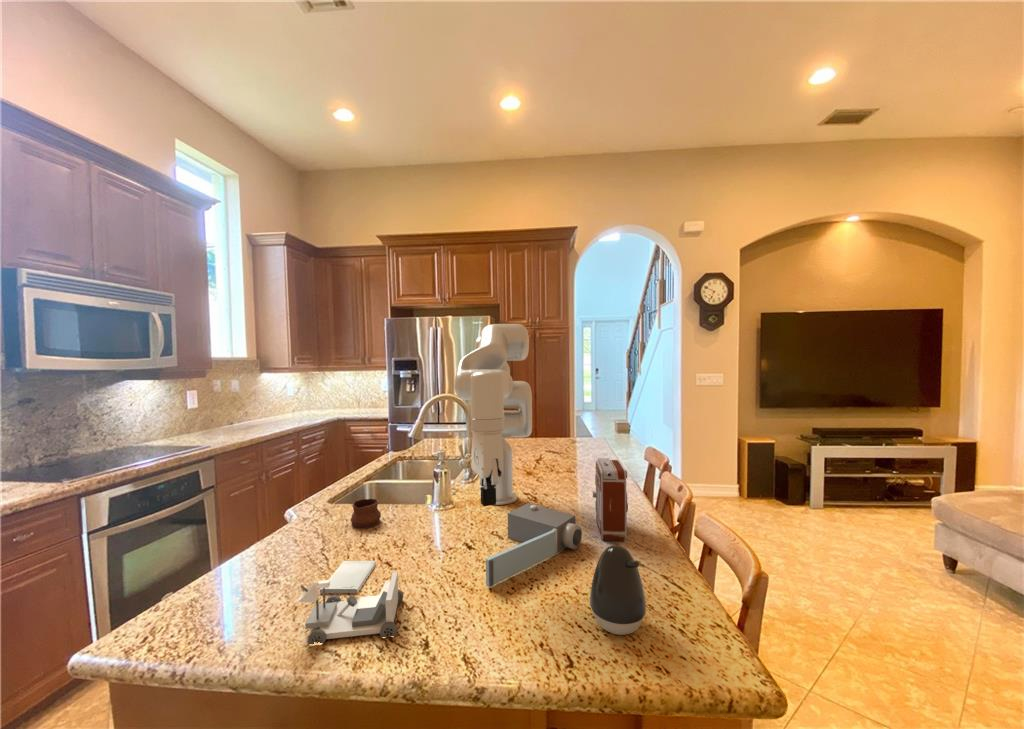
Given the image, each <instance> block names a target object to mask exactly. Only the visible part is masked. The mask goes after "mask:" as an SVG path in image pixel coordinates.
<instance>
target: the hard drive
mask: <svg viewBox="0 0 1024 729" xmlns="http://www.w3.org/2000/svg"><path fill="white" fill-rule="evenodd" d="M376 565H377V561H376V560H344V561H342V562H341V564H340V565H339V566H338V568H337V569H336V570H335V571H334V572H333V574H331V576H330V577H329V579H328V580H330V586H329V588H325V593H358V594H359V593H360V591H361V590H362V587H363V586H364V584H365V583H366V581H367V580H368V578H369V577H370V575H371V574H372V572H373V570H374V569H375V567H376ZM370 573H371V574H370ZM368 576H369V577H368ZM366 579H367V580H366ZM362 585H363V586H362ZM359 590H360V591H359ZM320 593H323V588H321V589H320V590H319V594H320Z"/></svg>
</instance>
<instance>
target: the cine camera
mask: <svg viewBox="0 0 1024 729" xmlns="http://www.w3.org/2000/svg"><path fill="white" fill-rule="evenodd" d="M594 478H595V479H594V483H595V484H594V485H595V491H594V490H593V491H592V498H595V516H596V518H595V520H596V521H595V522H596V525H597V528H598V529H597V530H598V534H599V536H600V539H601V540H602V541H618V542H619V541H620V542H621V541H622V542H623V541H626V540H627V535H628V534H627V532H628V531H627V529H628V528H627V523H628V522H627V518H628V517H627V513H628V511H629V504H628V491H627V479H628V470H627V469H625V468H624V466H623V465H622V463H621V462H620V461H619V460H618V459H610V458H609V457H597V459H596V461H595V476H594Z"/></svg>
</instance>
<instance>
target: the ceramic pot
mask: <svg viewBox="0 0 1024 729" xmlns="http://www.w3.org/2000/svg"><path fill="white" fill-rule="evenodd" d="M379 503H380V502H379V499H376V498H367V499H366V498H362V499H358V500H355V501H354V502H353V503H352V505H351V506H352V508H353V512H352V515H351V518H350V521H351V525H352V527H354V528H355V529H369V528H370V529H371V528H372V527H375V526H377V525H379V523H380V521H381V520H380V519H381V517H382V514H381V511H380V509H378V505H379ZM334 529H335V532H336V533H338V531H337V530H338V528H337V526H335V527H334Z"/></svg>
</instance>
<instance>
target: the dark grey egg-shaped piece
mask: <svg viewBox="0 0 1024 729" xmlns="http://www.w3.org/2000/svg"><path fill="white" fill-rule="evenodd" d="M639 566H640V563H639V561H637V560H635V559H634V557H633V555H632V553H631V552H630V551H629V549H628V548H626V546H624V545H621V544H617V543H616V544H610V545H609V546H607V547H606V548H605V549H604V550H603V551H602V553H601V554H600V556H599V559H598V561H597V564H596V567H595V569H594V573H593V575H592V576H593V577H592V582H591V587H590V594H589V606H590V609H591V610H592V613H593V616H594V618H595V620H596V622H597V623H598V625H599V626H600V627H601V628H602V629H604V631H606V632H609V633H610V634H613V635H618V636H621V635H622V636H625V635H629V634H633V633H634V632H636V631H637V630H638V629H639V627H640V626H641V625H642V622H643V619H644V617H645V616H646V612H647V609H646V608H647V607H646V606H647V605H646V597H645V590H644V585H643V582H642V578H641V574H640V572H639Z"/></svg>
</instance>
